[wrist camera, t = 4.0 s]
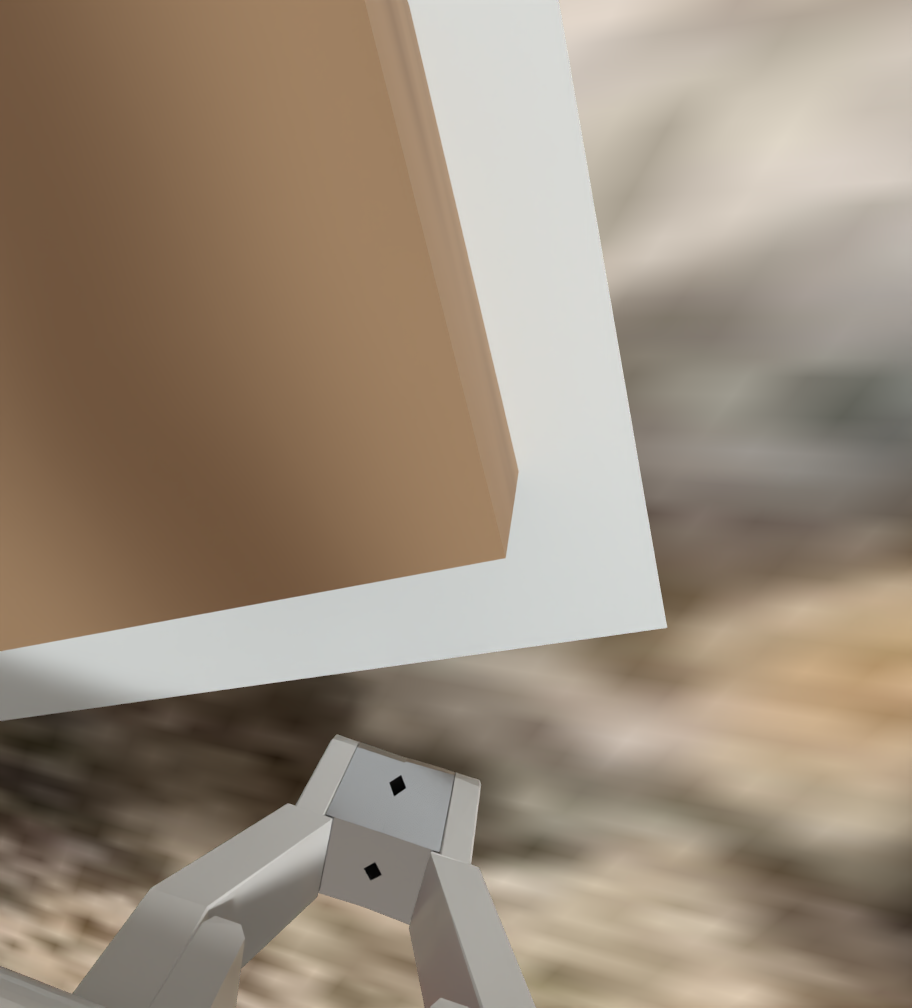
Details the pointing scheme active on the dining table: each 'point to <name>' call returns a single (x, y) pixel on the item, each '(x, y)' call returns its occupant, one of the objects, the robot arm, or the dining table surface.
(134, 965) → the robot arm
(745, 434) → the dining table surface
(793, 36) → the dining table surface
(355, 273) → the walnut block
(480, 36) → the board
